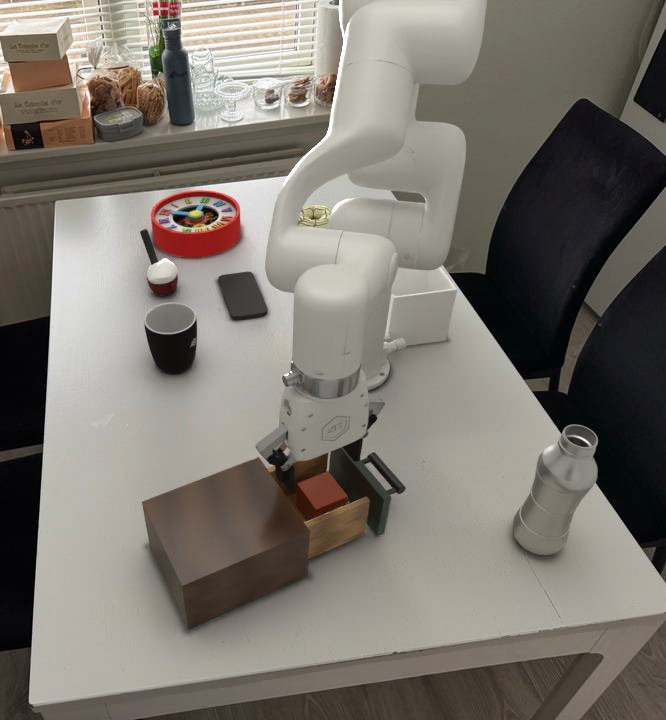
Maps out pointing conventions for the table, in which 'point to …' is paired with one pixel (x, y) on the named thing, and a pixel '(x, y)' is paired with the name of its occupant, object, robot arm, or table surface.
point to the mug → (172, 336)
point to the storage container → (420, 306)
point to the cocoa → (159, 270)
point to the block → (319, 496)
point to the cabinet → (226, 540)
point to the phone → (242, 295)
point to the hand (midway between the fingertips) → (318, 467)
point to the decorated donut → (315, 216)
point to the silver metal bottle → (557, 491)
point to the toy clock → (196, 223)
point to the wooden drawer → (362, 493)
